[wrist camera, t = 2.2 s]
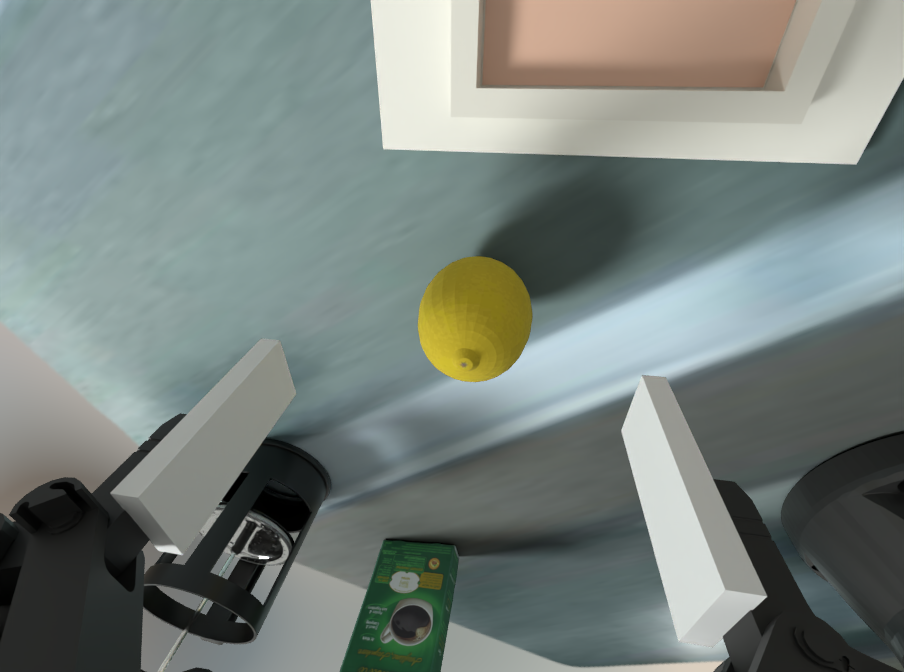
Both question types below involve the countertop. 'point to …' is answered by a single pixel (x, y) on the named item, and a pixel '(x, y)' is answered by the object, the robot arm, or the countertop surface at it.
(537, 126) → the tray
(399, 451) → the countertop surface
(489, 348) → the lemon
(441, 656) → the coffee box
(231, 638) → the french press
